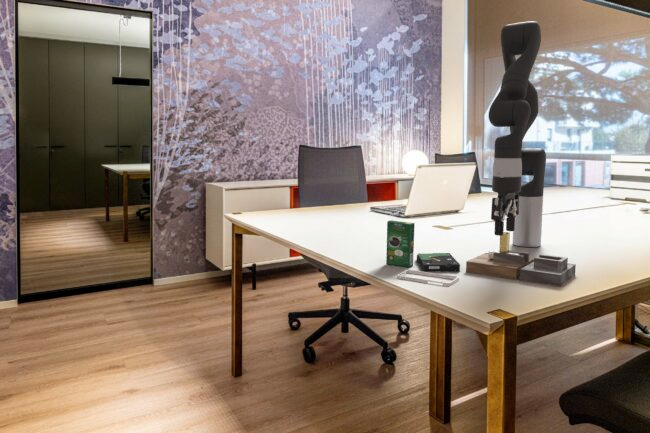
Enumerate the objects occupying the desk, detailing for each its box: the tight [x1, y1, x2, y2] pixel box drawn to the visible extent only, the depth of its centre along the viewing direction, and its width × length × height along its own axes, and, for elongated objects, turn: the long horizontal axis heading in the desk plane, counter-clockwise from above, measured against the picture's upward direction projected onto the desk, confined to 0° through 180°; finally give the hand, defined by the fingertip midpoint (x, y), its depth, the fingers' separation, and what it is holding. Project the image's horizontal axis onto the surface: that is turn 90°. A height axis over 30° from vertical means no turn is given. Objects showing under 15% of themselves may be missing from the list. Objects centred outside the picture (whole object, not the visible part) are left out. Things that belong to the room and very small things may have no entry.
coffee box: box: [385, 219, 415, 268], centre depth 156 cm, size 8×3×13 cm, turn 54°
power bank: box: [396, 269, 460, 287], centre depth 141 cm, size 7×1×15 cm
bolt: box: [488, 231, 520, 259], centre depth 147 cm, size 2×8×8 cm, turn 51°
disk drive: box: [416, 252, 461, 273], centre depth 155 cm, size 10×3×15 cm
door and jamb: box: [465, 249, 577, 288], centre depth 145 cm, size 14×25×6 cm, turn 51°
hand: (504, 233), depth 146 cm, fingers open, 8 cm apart
